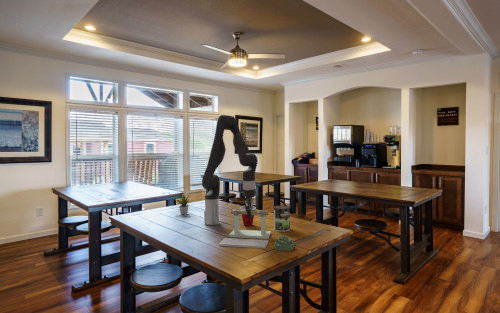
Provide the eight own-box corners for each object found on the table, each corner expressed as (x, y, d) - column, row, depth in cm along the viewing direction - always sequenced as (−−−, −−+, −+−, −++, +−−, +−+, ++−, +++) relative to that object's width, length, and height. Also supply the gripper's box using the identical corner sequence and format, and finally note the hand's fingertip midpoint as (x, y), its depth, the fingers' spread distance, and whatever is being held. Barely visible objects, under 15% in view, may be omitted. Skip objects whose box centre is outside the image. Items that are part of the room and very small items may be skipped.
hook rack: (228, 237, 173) (228, 211, 172) (233, 231, 182) (233, 207, 182) (268, 239, 168) (267, 212, 167) (270, 233, 177) (270, 208, 177)
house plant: (185, 210, 244) (185, 190, 243) (197, 212, 236) (197, 192, 235) (171, 214, 232) (171, 193, 231) (183, 216, 224) (183, 194, 223)
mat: (218, 245, 158) (218, 243, 158) (224, 239, 168) (224, 238, 168) (265, 248, 153) (265, 246, 153) (268, 242, 163) (268, 240, 163)
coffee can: (293, 230, 184) (293, 207, 183) (279, 232, 179) (279, 209, 178) (284, 226, 193) (283, 204, 192) (270, 228, 188) (270, 206, 187)
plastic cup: (245, 228, 189) (244, 209, 189) (237, 224, 199) (236, 206, 198) (259, 225, 195) (259, 207, 194) (251, 222, 204) (250, 204, 204)
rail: (231, 214, 176) (230, 210, 176) (232, 213, 178) (232, 209, 178) (267, 215, 171) (267, 211, 171) (268, 214, 173) (268, 210, 173)
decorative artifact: (296, 250, 150) (290, 243, 160) (296, 236, 149) (290, 231, 159) (277, 252, 148) (272, 245, 158) (277, 238, 148) (272, 232, 158)
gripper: (245, 186, 181) (246, 214, 182) (239, 190, 168) (240, 220, 169) (257, 186, 180) (258, 214, 181) (252, 190, 166) (253, 220, 167)
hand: (249, 217), depth 175 cm, fingers closed on rail, 2 cm apart
